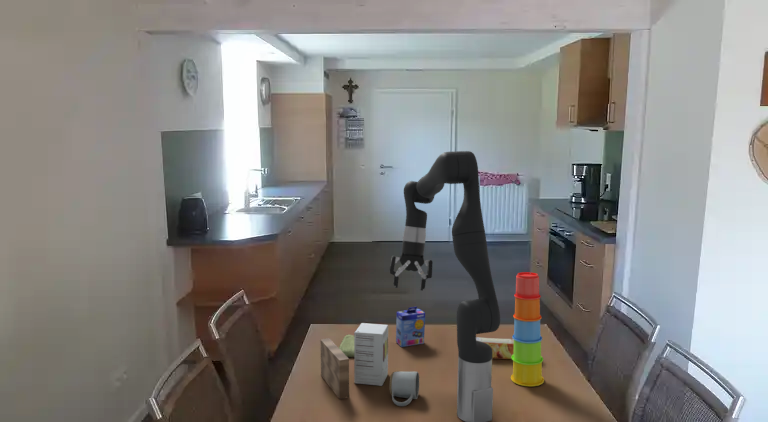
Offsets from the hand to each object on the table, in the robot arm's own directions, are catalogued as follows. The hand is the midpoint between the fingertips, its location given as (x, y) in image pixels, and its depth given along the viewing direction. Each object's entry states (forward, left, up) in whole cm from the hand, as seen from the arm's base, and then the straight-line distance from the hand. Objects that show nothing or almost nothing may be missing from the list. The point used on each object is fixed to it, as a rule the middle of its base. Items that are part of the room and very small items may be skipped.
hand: (408, 288), depth 189 cm
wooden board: (-7, +29, -26) cm, 39 cm away
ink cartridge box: (+15, -9, -26) cm, 32 cm away
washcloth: (+18, +11, -27) cm, 34 cm away
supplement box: (-7, +16, -26) cm, 32 cm away
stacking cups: (-28, -29, -26) cm, 48 cm away
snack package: (-9, -33, -26) cm, 43 cm away
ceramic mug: (-23, +12, -26) cm, 37 cm away
